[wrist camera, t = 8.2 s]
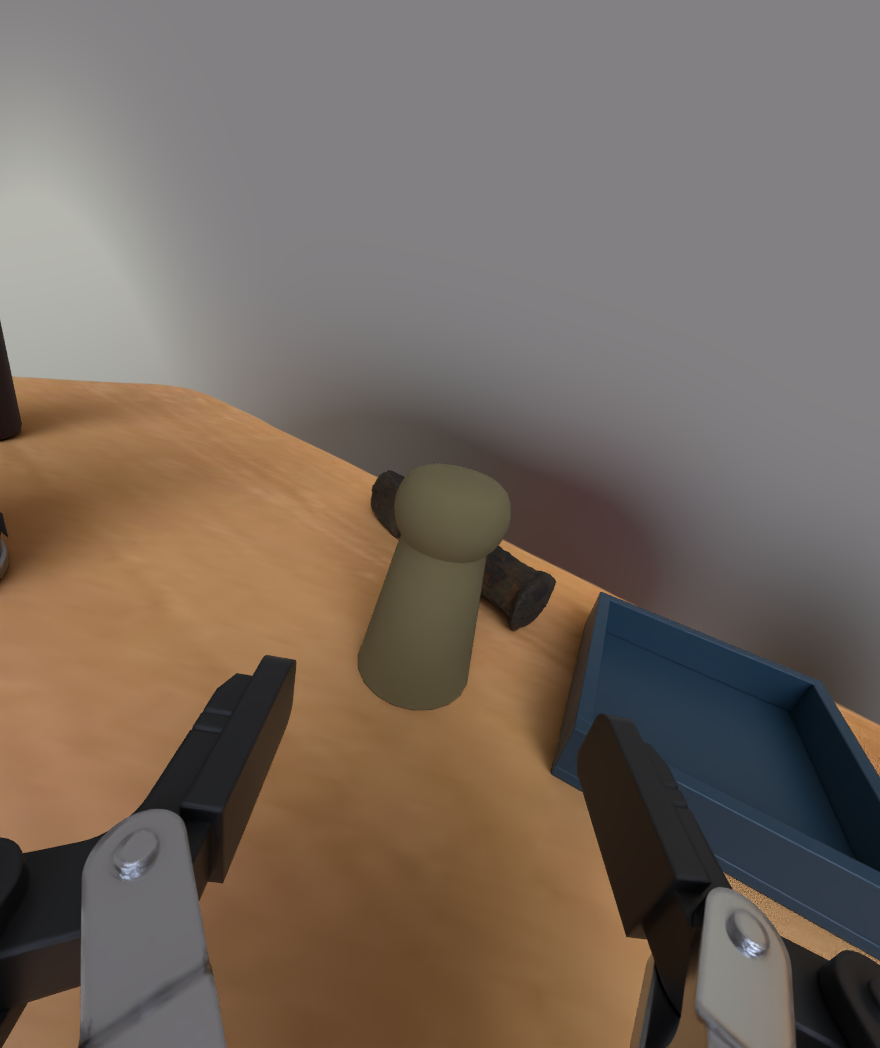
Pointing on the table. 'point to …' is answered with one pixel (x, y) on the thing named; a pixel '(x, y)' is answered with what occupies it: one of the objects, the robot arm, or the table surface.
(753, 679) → the caddy
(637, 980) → the table surface
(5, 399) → the wine bottle
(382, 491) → the rusty railroad spike
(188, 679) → the table surface
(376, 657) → the cork
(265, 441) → the table surface
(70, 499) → the table surface
